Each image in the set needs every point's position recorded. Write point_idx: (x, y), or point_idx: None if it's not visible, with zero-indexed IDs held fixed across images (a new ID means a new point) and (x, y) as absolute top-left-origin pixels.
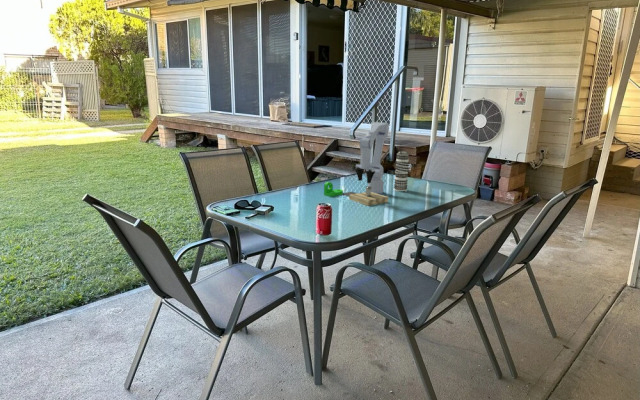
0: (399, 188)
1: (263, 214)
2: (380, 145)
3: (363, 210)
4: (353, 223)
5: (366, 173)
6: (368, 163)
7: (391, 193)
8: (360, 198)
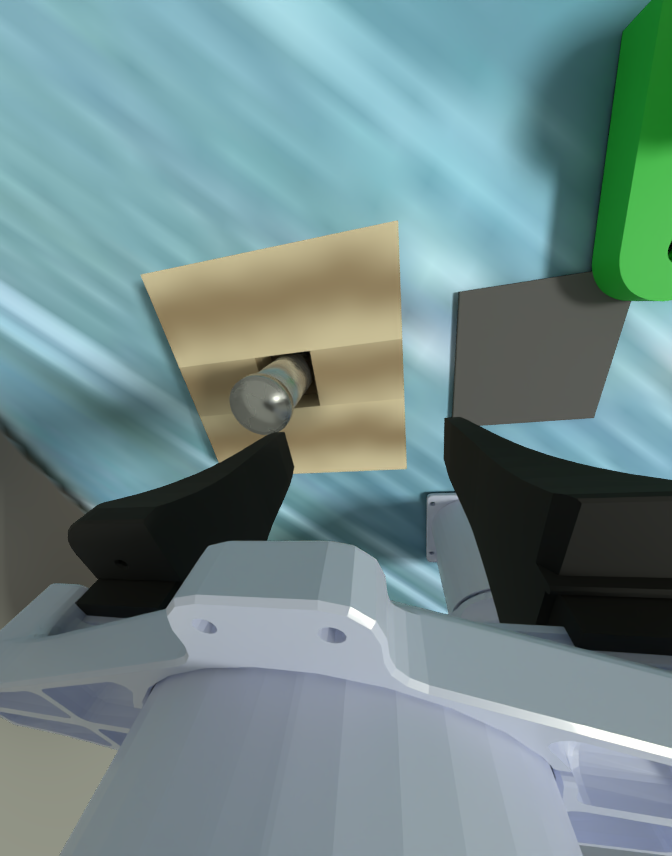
0: None
1: None
2: None
3: (38, 146)
4: None
5: (187, 495)
6: None
7: (395, 572)
8: (228, 256)
